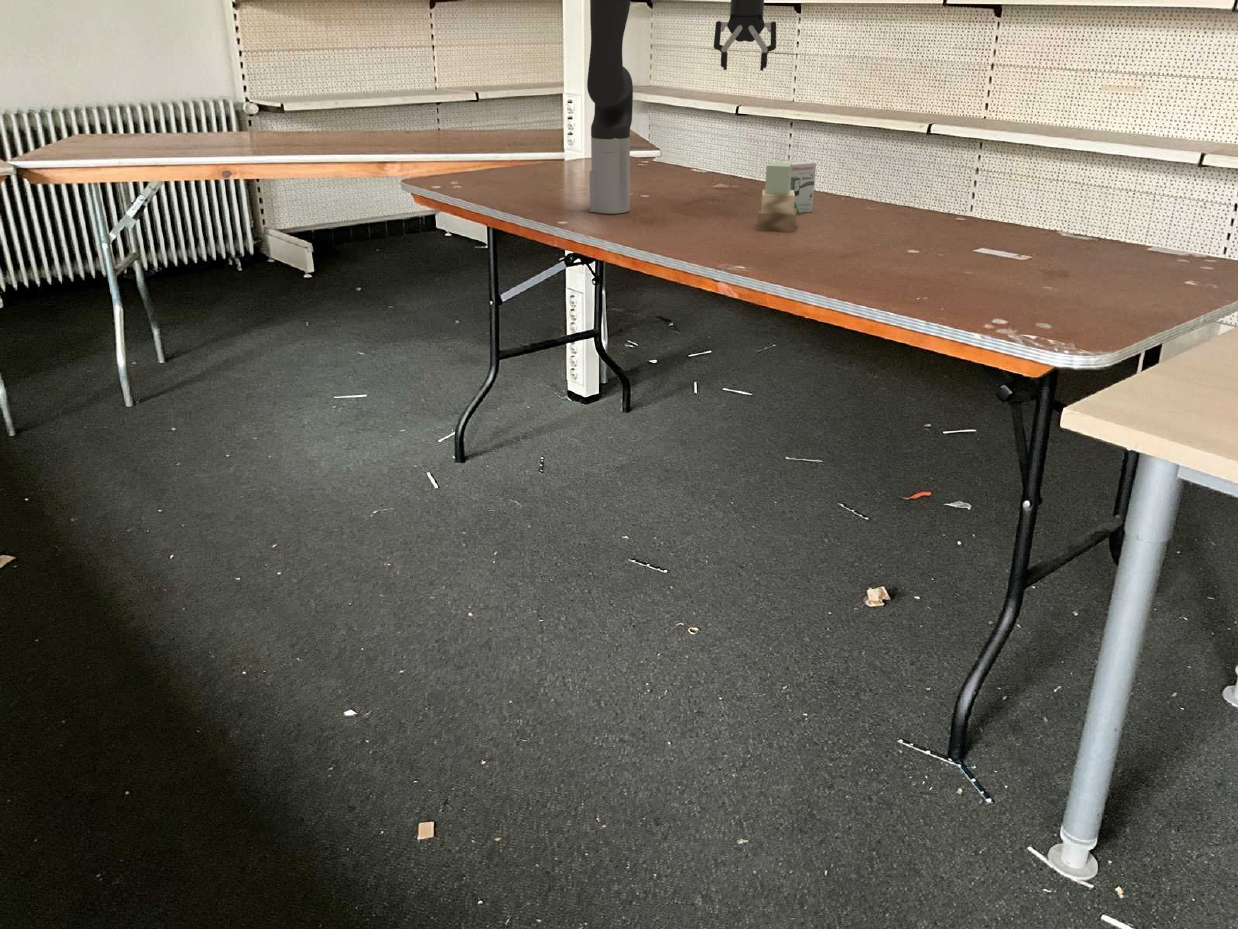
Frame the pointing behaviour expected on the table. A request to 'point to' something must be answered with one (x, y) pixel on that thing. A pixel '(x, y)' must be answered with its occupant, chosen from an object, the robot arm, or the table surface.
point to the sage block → (778, 178)
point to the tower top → (778, 203)
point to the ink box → (802, 183)
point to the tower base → (776, 222)
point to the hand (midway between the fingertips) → (743, 70)
